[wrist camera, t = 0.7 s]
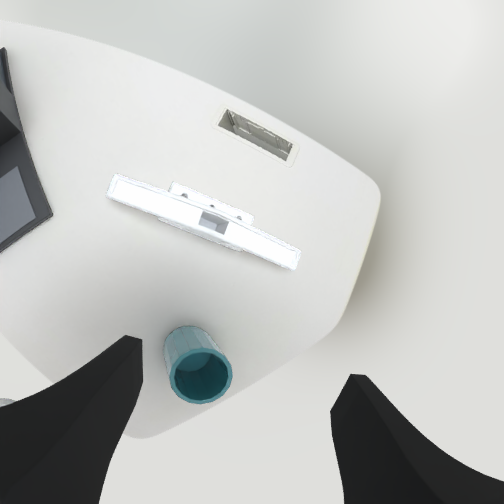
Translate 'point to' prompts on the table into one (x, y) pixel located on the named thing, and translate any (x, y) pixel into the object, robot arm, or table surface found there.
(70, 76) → the table surface
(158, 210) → the t-shaped cleat
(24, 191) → the coffee maker
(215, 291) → the table surface
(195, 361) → the cup
